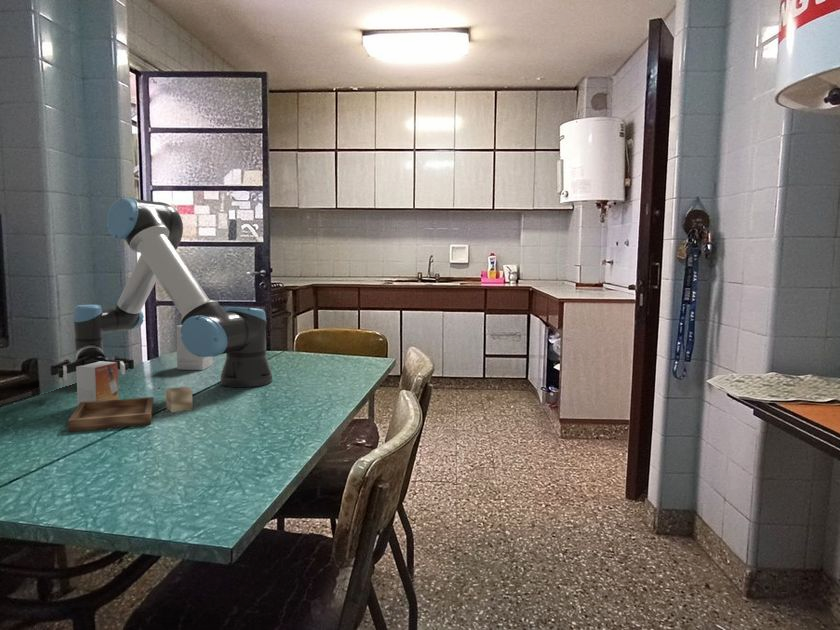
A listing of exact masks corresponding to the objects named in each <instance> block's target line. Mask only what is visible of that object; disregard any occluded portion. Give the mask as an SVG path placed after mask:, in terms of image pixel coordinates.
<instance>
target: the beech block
mask: <svg viewBox="0 0 840 630" xmlns="http://www.w3.org/2000/svg"><path fill="white" fill-rule="evenodd" d="M165 409H166V410H168V411H169V410H170V411H171V412H172V413H175V412H174V411H179V412H182V411H181V410H186V411H188V410H187V409H193V390H192V389H190V388H189V387H188V386H180V387H171V388H165ZM170 411H169V412H170ZM171 412H170V413H171Z"/></svg>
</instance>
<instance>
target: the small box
mask: <svg viewBox="0 0 840 630" xmlns="http://www.w3.org/2000/svg"><path fill="white" fill-rule="evenodd" d="M118 371H119V369H118V363H117V362H105V361H99V362H95V363H91V364H87V365H83V366H77V367H76V371H75V372H76V373H75V374H76V375H75V376H76V377H75V378H76V396H77V406H78V405H79V404H80V402H92V401H106V400H120V397H119V396H120V395H119V372H118Z"/></svg>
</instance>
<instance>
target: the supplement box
mask: <svg viewBox="0 0 840 630" xmlns="http://www.w3.org/2000/svg"><path fill="white" fill-rule="evenodd" d="M181 327H182V325H181V324H180V325H176V369H177V370H183V371H184V370H186V371H187V370H190V371H204V370H205V369H208V368H210V367H211V366H213V357H198V356H196V355H193V354H192V353H190V352H189V351H188V350H187V349H186V348H185V346H184V344H183V342H182V340H181V336H182V334H181Z"/></svg>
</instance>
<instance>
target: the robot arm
mask: <svg viewBox="0 0 840 630" xmlns="http://www.w3.org/2000/svg"><path fill="white" fill-rule="evenodd" d="M106 217H107V218H106V225H107V230H108V232H109V234H110V235H111V236H112V237H113V238H115V239H118V240H125V242H126V243H127V245H128V246H129V248H130V249H131V251H133V252H135V253H138V254H139V253H140V256H139V258H138V260H137V262H136V264H135V266H134V268H133V269H132V272H131V274H130V276H129V279H128V280H127V281H126V285H125V286H124V288H123V291H122V292H121V294H120V297H119V299H118V301H117V302H116V303H115V307H114V308H110V309H108V308H107V309H103V308H102V306H101V305H99V304H79V305H76V306H75V307H74V308H73V309H74V310H73V327H74V337H75V338H74V349H75V350H74V357H75V361H71V360H70V359H64V360H63V361H61V362H58V363H56V364H52V365H50V366H49V369H50V370H49V371H50V376H56V375H57V376H58V378H59V379H62V378H63V381H67V380H68V374H71V373H75V372H76V367H77V366H83V365H87V364H91V363H95V362H99V361H105V362H117V363H118V370H119V372H120V373H121V375H122V376H124V375H126V371H128V370H134V369H135V366H134V364H135V361H134V359H131V358H127V357H126V358H123V357H119V356H118V355H115V356H113V357H112V358H111V359H110V358H109V357H108V356H107V357H106V355H105V352H104V344H103V337H104V336H103V334H107V333H114V332H122V331H123V332H124V331H131V330H135V329H138V328H140V327H141V326H142V325H143V323H144V313H143V311H142V309H143V308H144V306H145V304H146V301H147V300H148V297H149V296H150V294H151V292H152V291H153V288H154V286H155V284H156V283H157V280H158V281H159V283H160V284H161V286H162V288H163V290H164V291H165V292H166V293H167V295H168V297H169V298H170V299H171V301H172V303H173V304H174V305H175V308H176V309H177V310H178V312H179V313H180V315H181V318H180V321H179V322H180V323H179V324H180V325H182V327H181V334H182V336H181V340H182V342H183V344H184V346H185V348H186V349H187V350H188V351H189V352H190V353H192V354H193V355H196V356H198V357H212V358H214V357H218V356H220V355H224V354H226V358H225V360H224V364H223V368H222V372H221V374H220V384H221V385H222V386H226V387H229V388H230V387H231V388H252V387H260V386H266V385H268V384H270V383H272V381H273V373H272V370H271V367H270V363H269V361H268V358H267V318H266V317H267V316H266V311H265V310H264V309H262V308H255V307H254V308H253V307H240V306H239V307H237V306H226V308H225V310H224V309H223V308H222V306H221V304H220V303H219V302H218V301H217V300H213V299H210V298H209V297H208V295H207V294H206V292H205V291H204V289H203V288H202V287H201V285H200V283H199V281H198V280H197V279H196V278H195V276H194V274H193V273H192V271H191V270H190V269H189V267H188V266H187V264H186V263H185V261H184V259H183V258H182V257H181V255H180V254H179V253H178V251H177V249H178V248H179V245H180V243H181V241H182V237H183V234H184V224H183V220H182V217H181V215H180V213H179V211H178V210H177V209H175V207H174V206H172V205H170V204H168V203H165V202H161V201H154V200H153V201H152V200H145V199H139V198H138V199H137V198H133V197H129V198H127V197H122V198H119V199H116V200H114V202H112V204H111V205H110V207H109V209H108V212H107V216H106Z"/></svg>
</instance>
